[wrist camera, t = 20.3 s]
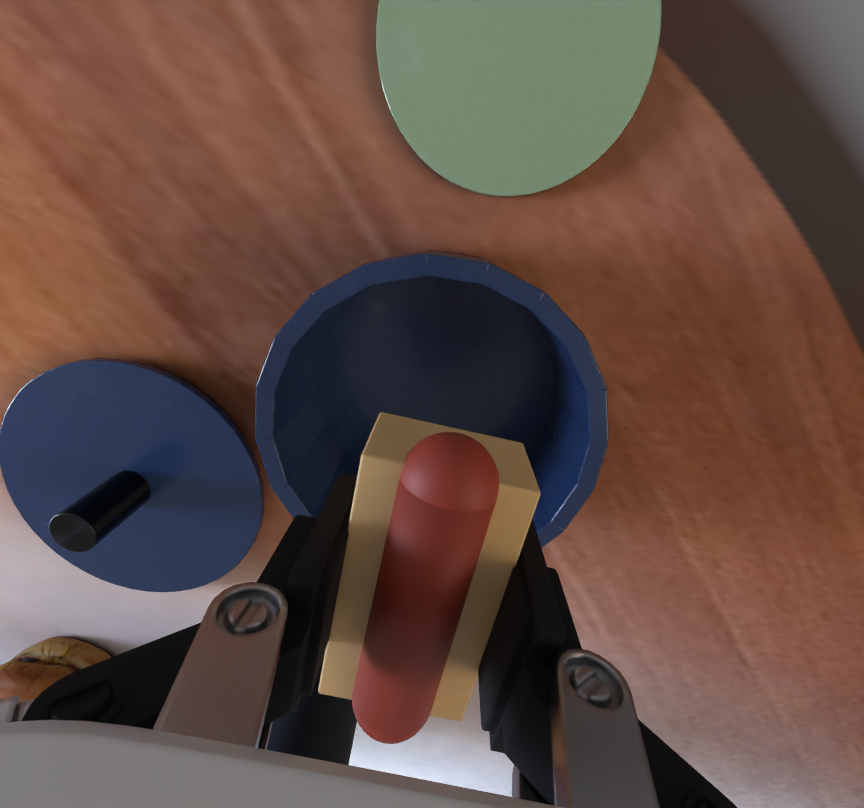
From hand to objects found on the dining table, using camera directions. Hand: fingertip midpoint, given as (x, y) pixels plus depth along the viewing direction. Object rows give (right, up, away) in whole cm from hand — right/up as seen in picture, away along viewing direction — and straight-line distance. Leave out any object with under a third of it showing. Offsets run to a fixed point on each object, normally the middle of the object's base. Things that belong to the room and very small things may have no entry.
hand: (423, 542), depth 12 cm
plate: (+4, +19, +8) cm, 21 cm away
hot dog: (0, 0, 0) cm, 0 cm away
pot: (0, +4, +13) cm, 14 cm away
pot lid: (-18, -1, +16) cm, 24 cm away
